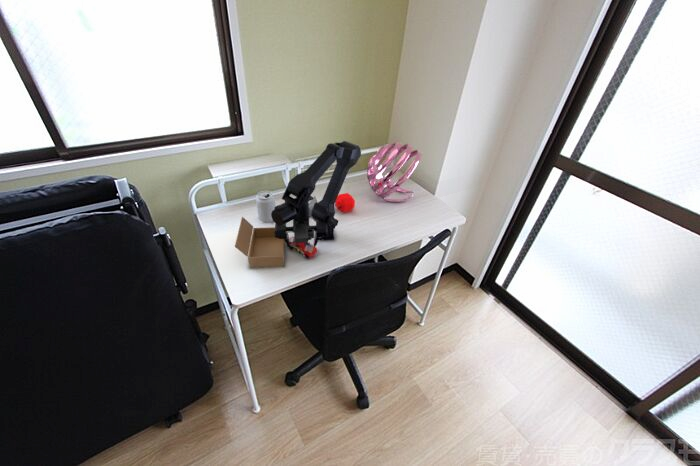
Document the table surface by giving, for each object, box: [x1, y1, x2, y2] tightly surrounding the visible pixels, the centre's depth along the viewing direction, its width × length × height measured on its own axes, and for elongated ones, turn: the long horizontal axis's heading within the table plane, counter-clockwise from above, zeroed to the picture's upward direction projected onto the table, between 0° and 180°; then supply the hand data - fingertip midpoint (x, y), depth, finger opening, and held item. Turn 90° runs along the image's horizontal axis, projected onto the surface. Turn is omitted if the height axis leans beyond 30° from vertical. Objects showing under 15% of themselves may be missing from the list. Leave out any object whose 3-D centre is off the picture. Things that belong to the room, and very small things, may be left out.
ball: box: [334, 192, 356, 214], centre depth 137 cm, size 8×8×8 cm
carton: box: [247, 226, 286, 269], centre depth 113 cm, size 17×12×5 cm
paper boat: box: [309, 195, 319, 217], centre depth 135 cm, size 12×6×9 cm
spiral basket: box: [366, 141, 422, 203], centre depth 145 cm, size 28×28×27 cm
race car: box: [286, 235, 318, 259], centre depth 115 cm, size 13×5×4 cm, turn 56°
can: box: [255, 190, 276, 223], centre depth 127 cm, size 8×8×12 cm
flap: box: [234, 216, 254, 257], centre depth 109 cm, size 17×6×1 cm
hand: (302, 246), depth 115 cm, fingers open, 9 cm apart
